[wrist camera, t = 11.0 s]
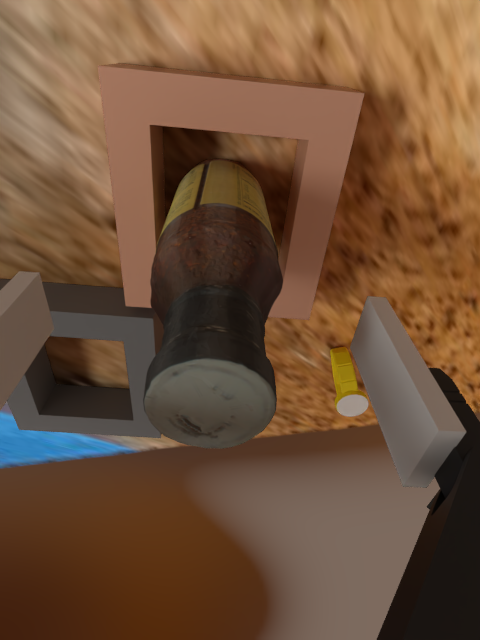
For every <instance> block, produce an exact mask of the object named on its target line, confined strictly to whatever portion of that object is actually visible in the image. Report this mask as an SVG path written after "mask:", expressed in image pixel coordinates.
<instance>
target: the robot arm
mask: <svg viewBox="0 0 480 640" xmlns="http://www.w3.org/2000/svg"><path fill="white" fill-rule="evenodd" d="M53 330H54V326H53V322H52V318H51V314H50V311H49V307H48V303H47V299H46V295H45V292H44V288H43V284H42V280H41V276H40V273H37V272H23V271H19V272H18V273H17V274H16V275H15V276H14V277H13V278H12V279H11V280H10V281H9V282H8V283H7V284H6V285H5V286H4V287H3V288H2V289H1V290H0V410H1V409H2V407H3V406H4V404H5V403H6V401H7V400H8V398H9V397H10V395H11V394H12V392H13V390H14V389H15V387H16V386H17V384H18V383H19V381H20V380H21V378H22V377H23V375H24V374H25V372H26V371H27V369H28V368H29V366H30V365H31V363H32V362H33V360H34V359H35V357H36V355H37V354H38V352H39V351H40V349H41V348H42V346H43V345H44V343H45V342H46V340H47V339H48V337H49V336H50V334H51V333H52V331H53ZM350 349H351V351H352V354H353V356H354V359H355V362H356V364H357V367H358V370H359V372H360V375H361V378H362V380H363V383H364V385H365V388H366V391H367V393H368V396H369V399H370V401H371V404H372V406H373V409H374V412H375V414H376V417H377V420H378V422H379V425H380V428H381V430H382V433H383V435H384V438H385V441H386V443H387V446H388V449H389V451H390V454H391V456H392V459H393V462H394V464H395V467H396V470H397V472H398V475H399V477H400V480H401V482H402V485H403V487H424V488H427V487H428V485H429V484H430V483H431V481H432V480H433V478H434V477H435V478H436V480H437V482H438V484H439V487H440V490H439V491H438V493H437V494H436V495H435V497H434V498H433V499H432V501H431V502H430V503H429V504H428V506H427V508H429V509H430V511H429V513H428V515H427V518H426V521H425V523H424V525H423V528H422V530H421V533H420V535H419V538H418V540H417V542H416V545H415V547H414V550H413V552H412V555H411V557H410V560H409V562H408V564H407V567H406V569H405V572H404V574H403V577H402V579H401V581H400V584H399V586H398V589H397V591H396V594H395V596H394V598H393V601H392V603H391V606H390V608H389V611H388V614H387V616H386V618H385V620H384V623H383V625H382V628H381V630H380V633H379V635H378V638H377V640H480V422H479V420H478V419H477V417H476V416H475V414H474V413H473V411H472V409H471V408H470V406H469V405H468V404H466V400H465V399H464V397H463V396H462V394H460V393H459V392H460V391H459V390H458V388H457V386H456V385H455V383H454V382H453V380H452V379H451V378H450V377H449V376H447V375H446V374H445V373H444V372H443V371H442V370H441V369H439V368H428V367H427V365H426V364H425V362H424V360H423V359H422V357H421V355H420V354H419V352H418V350H417V349H416V347H415V345H414V344H413V342H412V340H411V339H410V337H409V335H408V334H407V332H406V330H405V329H404V327H403V325H402V324H401V322H400V320H399V319H398V317H397V315H396V314H395V312H394V310H393V309H392V307H391V305H390V304H389V302H388V300H387V299H386V298H385V297H371V296H368V297H367V299H366V302H365V305H364V308H363V311H362V314H361V317H360V320H359V323H358V326H357V329H356V331H355V334H354V337H353V340H352V343H351V346H350Z"/></svg>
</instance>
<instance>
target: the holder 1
mask: <svg viewBox="0 0 480 640" xmlns="http://www.w3.org/2000/svg"><path fill="white" fill-rule="evenodd" d="M9 281H10V279H0V290H1V289H2V288H3V287H4V286H5V285H6V284H7V283H8V282H9ZM42 284H43V288H44V292H45V295H46V299H47V303H48V307H49V311H50V314H51V318H52V322H53V326H54V330H53V331H52V333H51V334H50V336H57V337H71V338H85V339H99V340H113V341H124V349H125V356H126V364H127V372H128V380H129V388H130V389H120V388H105V387H90V386H75V385H60V384H56V382H55V379H54V376H53V372H52V369H51V365H50V362H49V359H48V355H47V352H46V349H45V345H43V346H42V348H41V349H40V351H39V352H38V354H37V355H36V357H35V359H34V360H33V362H32V363H31V365H30V366H29V368H28V369H27V371H26V372H25V374H24V375H23V377H22V378H21V380H20V381H19V383H18V384H17V386H16V387H15V389H14V390H13V392H12V394H11V395H10V397H9V398H8V400H7V402H8V404H9V407H10V409H11V411H12V414H13V416H14V419H15V421H16V423H17V426H18V428H19V430H34V431H51V432H67V433H84V434H101V435H117V436H134V437H151V438H161V434H162V433H161V432H159V431H158V430H157V429H156V428H155V427H154V426H153V425H152V424H151V423H150V421H149V419H148V416H147V414H146V413H145V411H144V404H143V398H144V390H145V382H146V375H147V371H148V368H149V366H150V364H151V362H152V360H153V359H154V357H155V356H156V354H157V353H158V352H159V351H160V348H161V345H162V339H163V334H164V328H163V324H162V322H161V321H160V319H159V317H158V315H157V314H156V312H155V311H154V309H153V308H145V307H131V306H126V305H125V296H124V288H113V287H100V286H87V285H74V284H61V283H48V282H42Z"/></svg>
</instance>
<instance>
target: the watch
mask: <svg viewBox="0 0 480 640" xmlns="http://www.w3.org/2000/svg"><path fill="white" fill-rule="evenodd" d="M330 354H331V363H332V373H333V378H334V383H335V388H336V392H337V397H336V399H335V407H336V410H337V412H338V413H339V414H341V415H343V416H348V417H351V416H357V415H360V414H362V413H363V412H364V411H366V409H367V408H368V404H369V403H368V399H367V397H366V395H365V394H364V392H362V391H360V390H358V385H357V380H356V375H355V371H354V367H353V363H352V360H351V357H350V354H349V351H348V350H347V348H346V347H340V348H334V349H331V351H330Z"/></svg>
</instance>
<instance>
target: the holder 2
mask: <svg viewBox="0 0 480 640" xmlns="http://www.w3.org/2000/svg"><path fill="white" fill-rule="evenodd" d="M98 71H99V80H100V89H101V97H102V106H103V114H104V123H105V132H106V140H107V149H108V158H109V166H110V175H111V184H112V192H113V201H114V210H115V218H116V227H117V236H118V244H119V253H120V261H121V270H122V279H123V287H124V296H125V305H126V306H131V307H145V308H152V307H151V302H150V300H151V285H150V279H151V273H152V272H151V268H152V264H153V261H154V256H155V254H156V247H157V243H158V240H159V238H160V235H161V232H162V229H163V227H164V224H165V221H166V213H165V182H164V152H163V126H169V127H180V128H190V129H200V130H210V131H221V132H231V133H241V134H251V135H261V136H272V137H282V138H292V139H298V144H297V151H296V157H295V163H294V169H293V175H292V181H291V187H290V193H289V199H288V205H287V211H286V217H285V223H284V229H283V235H282V242H281V248H280V254H279V260H278V262H279V266H280V269H281V273H282V276H283V285H282V290H281V293H280V294H279V296H278V297H277V299H276V300H275V302H274V304H273V306H272V308H271V310H270V313H269V315H268V317H277V318H290V319H303V320H309V318H310V314H311V310H312V306H313V302H314V298H315V294H316V289H317V285H318V281H319V277H320V273H321V269H322V265H323V261H324V257H325V253H326V249H327V245H328V241H329V236H330V232H331V228H332V224H333V220H334V216H335V212H336V208H337V204H338V200H339V196H340V192H341V188H342V183H343V179H344V175H345V171H346V167H347V163H348V159H349V155H350V151H351V147H352V143H353V139H354V134H355V130H356V126H357V122H358V118H359V114H360V110H361V106H362V102H363V98H364V94H365V93H362V92H359V91H356V90H354V89H351V88H348V87H341V86H331V85H322V84H312V83H303V82H293V81H283V80H274V79H264V78H255V77H245V76H236V75H226V74H217V73H207V72H198V71H188V70H179V69H169V68H159V67H150V66H140V65H131V64H121V63H117V64H108V65H99V66H98Z"/></svg>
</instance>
